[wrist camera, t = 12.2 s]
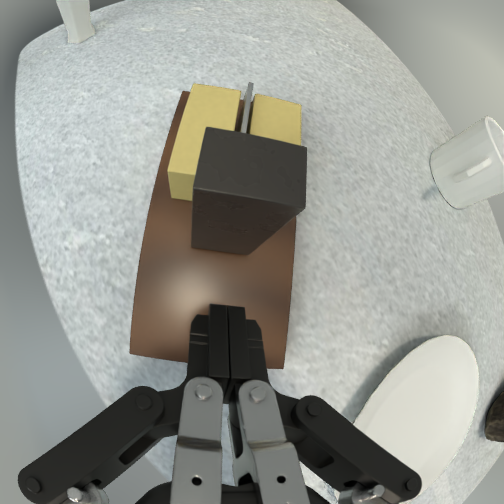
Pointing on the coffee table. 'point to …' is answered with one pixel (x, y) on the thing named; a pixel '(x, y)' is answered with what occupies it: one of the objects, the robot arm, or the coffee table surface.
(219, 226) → the knife
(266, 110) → the butter
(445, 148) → the mug
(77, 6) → the white faceted vase
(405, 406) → the plate
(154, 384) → the coffee table surface
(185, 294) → the slicer board
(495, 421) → the rock
